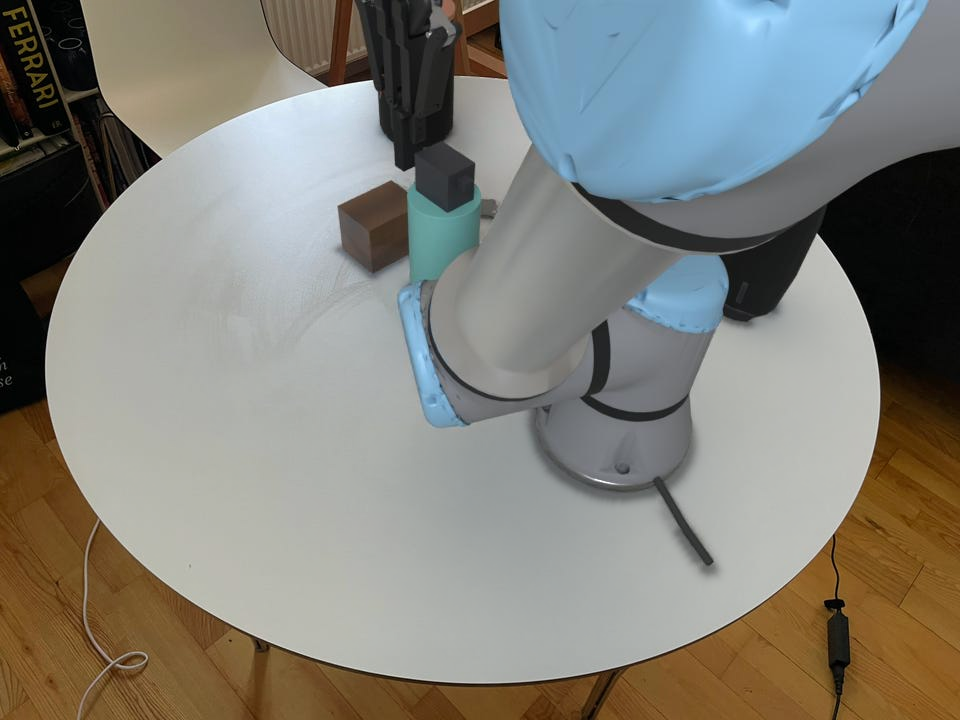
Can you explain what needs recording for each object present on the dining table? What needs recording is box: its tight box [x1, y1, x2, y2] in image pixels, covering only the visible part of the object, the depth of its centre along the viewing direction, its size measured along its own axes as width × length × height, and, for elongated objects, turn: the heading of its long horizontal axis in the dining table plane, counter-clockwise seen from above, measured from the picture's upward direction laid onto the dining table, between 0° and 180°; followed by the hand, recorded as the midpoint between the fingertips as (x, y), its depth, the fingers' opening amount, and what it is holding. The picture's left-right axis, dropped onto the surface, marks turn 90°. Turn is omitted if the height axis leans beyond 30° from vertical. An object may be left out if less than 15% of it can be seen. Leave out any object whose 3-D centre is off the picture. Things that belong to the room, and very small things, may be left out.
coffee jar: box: [377, 0, 456, 149], centre depth 104 cm, size 11×11×18 cm
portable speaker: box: [719, 202, 829, 323], centre depth 82 cm, size 9×9×20 cm
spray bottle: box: [407, 140, 483, 285], centre depth 81 cm, size 15×8×19 cm, turn 43°
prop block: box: [337, 179, 409, 274], centre depth 91 cm, size 6×8×6 cm
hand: (409, 163), depth 79 cm, fingers closed
